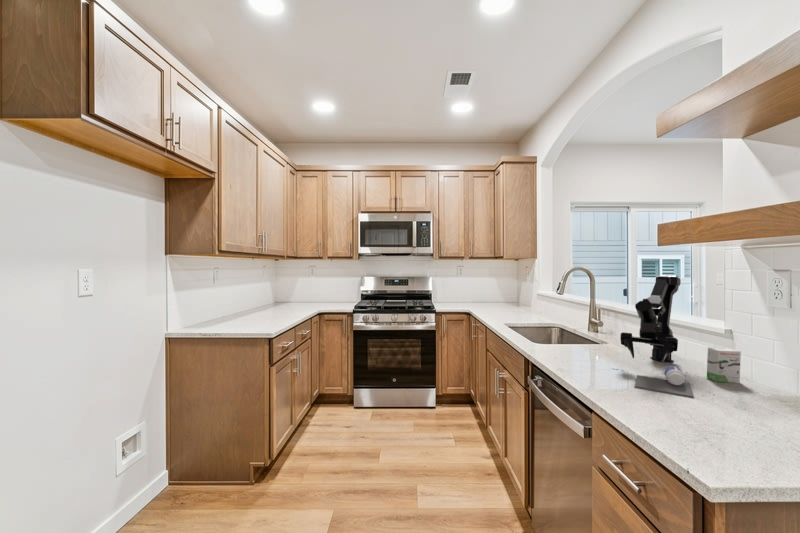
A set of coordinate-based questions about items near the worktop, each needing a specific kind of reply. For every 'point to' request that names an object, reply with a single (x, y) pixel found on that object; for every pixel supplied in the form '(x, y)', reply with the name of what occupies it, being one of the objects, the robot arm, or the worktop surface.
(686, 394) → the rubber mat
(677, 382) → the pill bottle
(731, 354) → the ink box
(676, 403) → the worktop surface
